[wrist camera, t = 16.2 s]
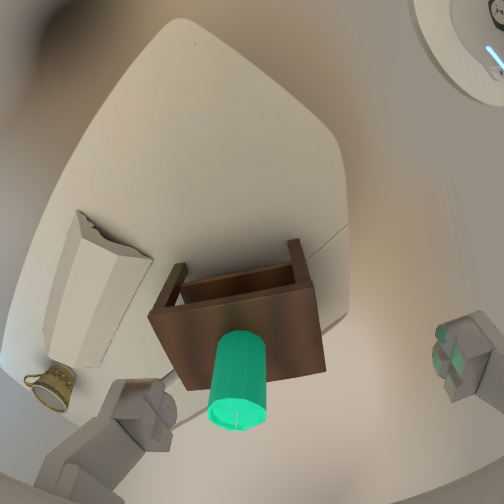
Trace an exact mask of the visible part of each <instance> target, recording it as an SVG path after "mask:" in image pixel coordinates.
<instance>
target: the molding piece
mask: <svg viewBox="0 0 504 504" xmlns="http://www.w3.org/2000/svg"><path fill="white" fill-rule="evenodd" d="M93 227H94V224H93V223H91V222H89V221H88V220H87V218H86V216H85V215H83V214H81V213H80V211H77V210H76V213H75V216H74V219H73V221H72V224H71V227H70V230H69V233H68V236H67V239H66V242H65V245H64V248H63V252H62V255H61V258H60V261H59V265H58V268H57V272H56V276H55V279H54V283H53V287H52V291H51V295H50V299H49V303H48V307H47V312H46V316H45V321H44V326H43V335H44V341H45V346H46V351H47V355H48V357H49V358H51V359H53V360H55V361H58V362H60V363H62V364H65V365H67V366H69V367H72V368H93V367H99V365H100V363H101V361H102V359H103V356H104V354H105V352H106V350H107V348H108V346H109V344H110V342H111V340H112V337H113V335H114V333H115V331H116V329H117V327H118V325H119V323H120V321H121V319H122V317H123V315H124V313H125V311H126V309H127V307H128V305H129V303H130V302H131V300H132V298H133V296H134V294H135V292H136V290H137V288H138V286H139V284H140V283H141V281H142V279H143V277H144V275H145V273H146V271H147V270H148V268H149V266H150V264H151V262H152V260H153V259H152V258H151V257H146V256H143V255H142V254H141V253H139V252H138V251H137V250H136V249H134V248H131V247H128V246H125V245H121V244H117V243H113V242H111V241H108V240H106V239H104V238H103V237H102V236H101V235H100V234H99V232H98V230H96V229H93Z"/></svg>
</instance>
